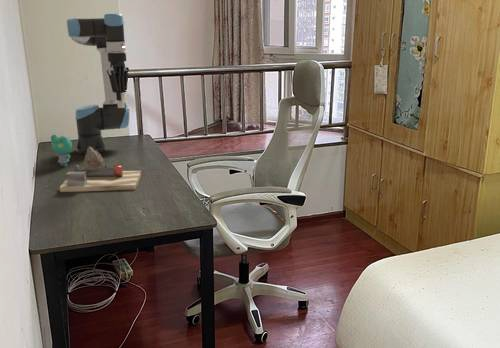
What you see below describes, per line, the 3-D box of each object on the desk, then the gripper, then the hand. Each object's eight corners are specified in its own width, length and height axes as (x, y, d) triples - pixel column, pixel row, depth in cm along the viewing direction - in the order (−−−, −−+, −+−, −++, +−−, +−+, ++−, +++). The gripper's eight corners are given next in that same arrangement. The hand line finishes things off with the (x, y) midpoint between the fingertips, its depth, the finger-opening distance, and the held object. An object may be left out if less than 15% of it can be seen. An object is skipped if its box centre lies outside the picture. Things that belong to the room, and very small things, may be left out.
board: (72, 177, 218) (70, 161, 216) (141, 174, 220) (140, 159, 218) (60, 192, 200) (57, 175, 198) (135, 189, 202) (134, 173, 200)
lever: (83, 174, 214) (81, 165, 212) (123, 174, 214) (122, 164, 213) (80, 177, 210) (79, 168, 209) (121, 176, 211) (121, 167, 209)
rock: (113, 158, 223) (98, 156, 217) (106, 179, 225) (90, 177, 219) (98, 146, 232) (83, 144, 225) (91, 166, 234) (76, 164, 228)
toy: (50, 166, 232) (46, 135, 228) (63, 162, 239) (60, 132, 235) (64, 169, 228) (60, 137, 224) (77, 164, 235) (74, 134, 231)
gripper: (115, 53, 201) (120, 110, 209) (132, 51, 213) (137, 105, 220) (99, 53, 204) (105, 109, 211) (117, 50, 215) (122, 104, 223)
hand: (121, 107), depth 216 cm, fingers closed
